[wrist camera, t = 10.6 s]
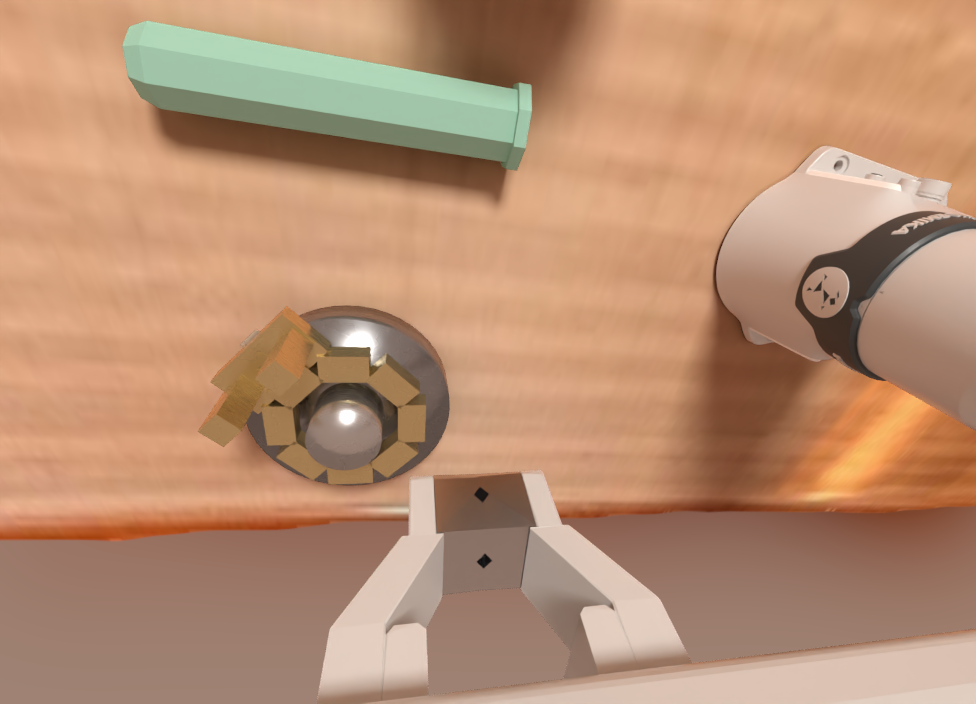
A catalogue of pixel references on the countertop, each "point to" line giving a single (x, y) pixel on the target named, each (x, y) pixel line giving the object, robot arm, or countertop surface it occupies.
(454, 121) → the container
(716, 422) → the countertop surface
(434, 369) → the grey round piece
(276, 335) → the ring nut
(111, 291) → the countertop surface
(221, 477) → the countertop surface
